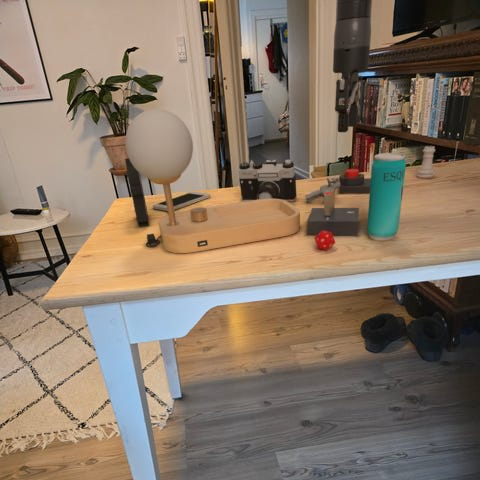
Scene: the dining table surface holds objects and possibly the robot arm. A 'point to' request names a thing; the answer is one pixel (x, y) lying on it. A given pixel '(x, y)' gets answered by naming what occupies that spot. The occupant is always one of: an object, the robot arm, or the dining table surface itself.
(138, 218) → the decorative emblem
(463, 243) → the dining table surface
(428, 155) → the rook chess piece
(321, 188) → the elephant figurine
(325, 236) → the die
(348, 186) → the box
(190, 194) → the smartphone
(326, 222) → the dial block
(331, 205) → the grey rectangular plate
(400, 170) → the beverage can
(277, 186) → the camera
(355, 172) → the button
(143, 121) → the lamp
